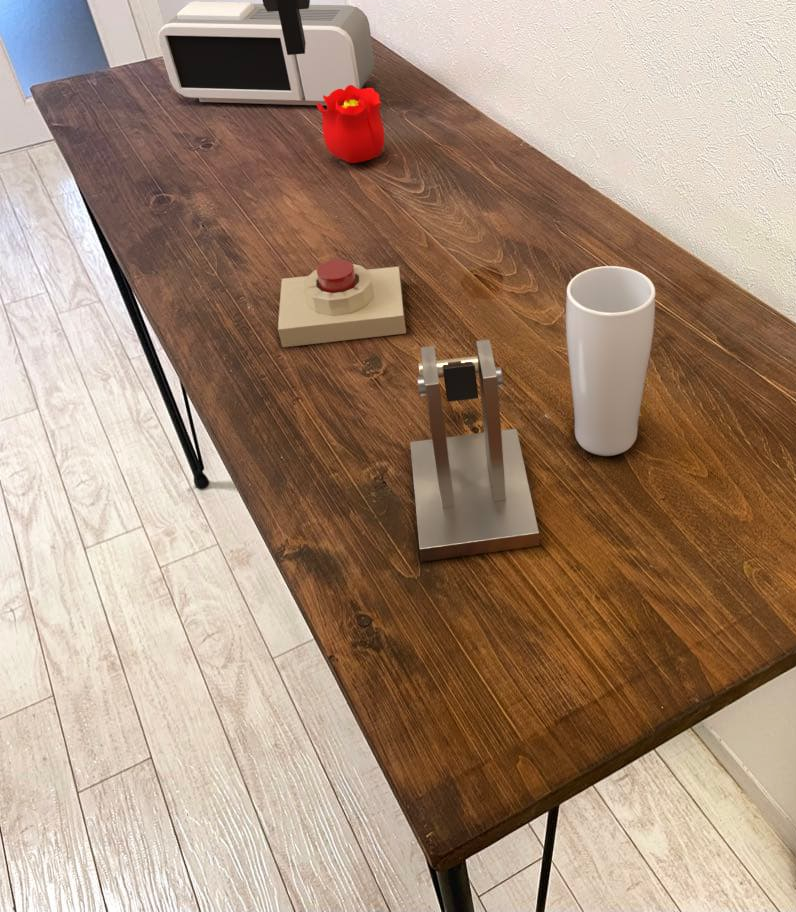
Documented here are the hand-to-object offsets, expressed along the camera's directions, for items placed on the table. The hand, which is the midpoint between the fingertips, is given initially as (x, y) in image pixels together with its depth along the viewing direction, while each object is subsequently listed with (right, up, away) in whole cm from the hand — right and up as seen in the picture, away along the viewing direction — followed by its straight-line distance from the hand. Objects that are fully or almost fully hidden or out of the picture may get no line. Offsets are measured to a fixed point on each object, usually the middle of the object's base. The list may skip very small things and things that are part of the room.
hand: (296, 48), depth 80 cm
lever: (+15, -30, -8) cm, 35 cm away
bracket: (+16, -39, -6) cm, 42 cm away
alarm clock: (-17, +17, +54) cm, 59 cm away
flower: (-2, +3, +39) cm, 39 cm away
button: (+1, -19, +11) cm, 21 cm away
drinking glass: (+27, -34, -1) cm, 43 cm away
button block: (+1, -21, +13) cm, 25 cm away
